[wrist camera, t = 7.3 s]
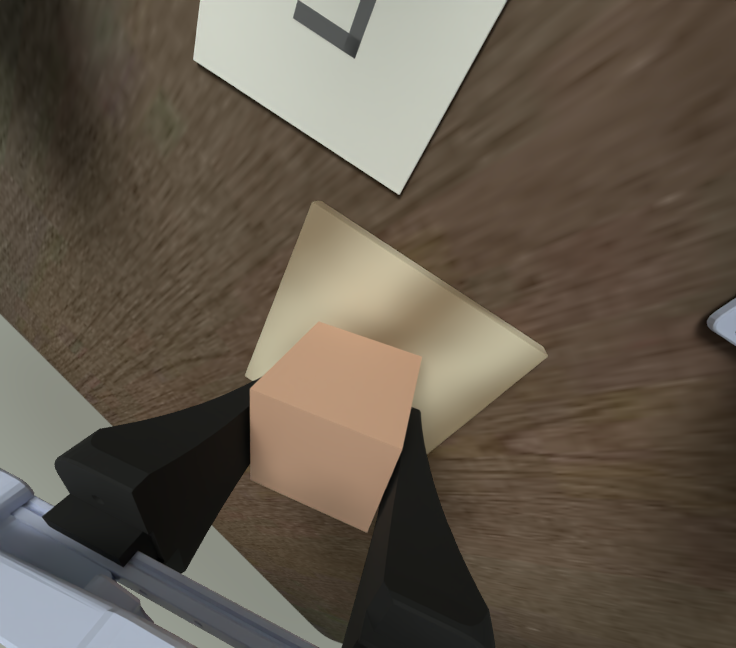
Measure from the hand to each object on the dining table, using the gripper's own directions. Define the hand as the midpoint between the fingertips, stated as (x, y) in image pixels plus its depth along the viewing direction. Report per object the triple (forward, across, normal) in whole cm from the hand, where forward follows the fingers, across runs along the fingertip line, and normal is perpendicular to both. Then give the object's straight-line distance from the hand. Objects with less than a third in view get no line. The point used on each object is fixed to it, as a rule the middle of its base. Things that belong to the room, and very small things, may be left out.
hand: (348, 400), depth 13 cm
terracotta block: (+1, 0, 0) cm, 1 cm away
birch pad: (+3, 0, 0) cm, 3 cm away
